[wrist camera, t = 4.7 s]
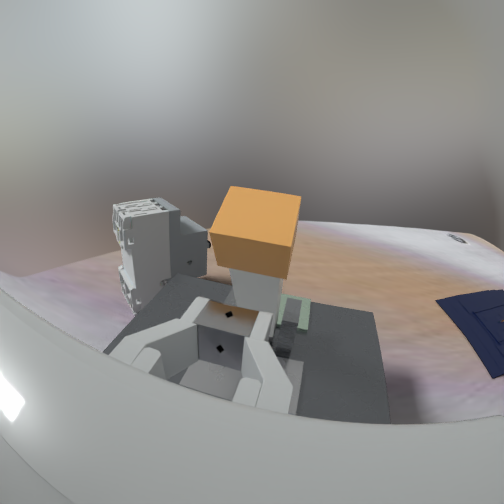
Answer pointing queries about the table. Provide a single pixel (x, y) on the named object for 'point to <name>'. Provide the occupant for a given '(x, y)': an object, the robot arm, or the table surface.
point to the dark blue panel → (481, 324)
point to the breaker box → (289, 353)
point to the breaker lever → (256, 245)
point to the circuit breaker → (156, 248)
